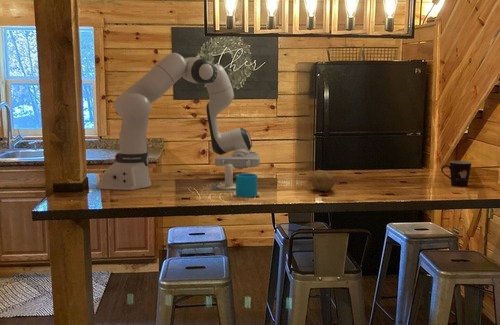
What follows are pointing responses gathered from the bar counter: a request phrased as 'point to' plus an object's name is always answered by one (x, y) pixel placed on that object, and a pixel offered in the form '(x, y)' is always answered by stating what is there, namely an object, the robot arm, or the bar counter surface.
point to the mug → (246, 185)
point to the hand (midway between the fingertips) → (234, 164)
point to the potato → (322, 180)
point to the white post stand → (228, 179)
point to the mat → (214, 188)
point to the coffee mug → (459, 173)
